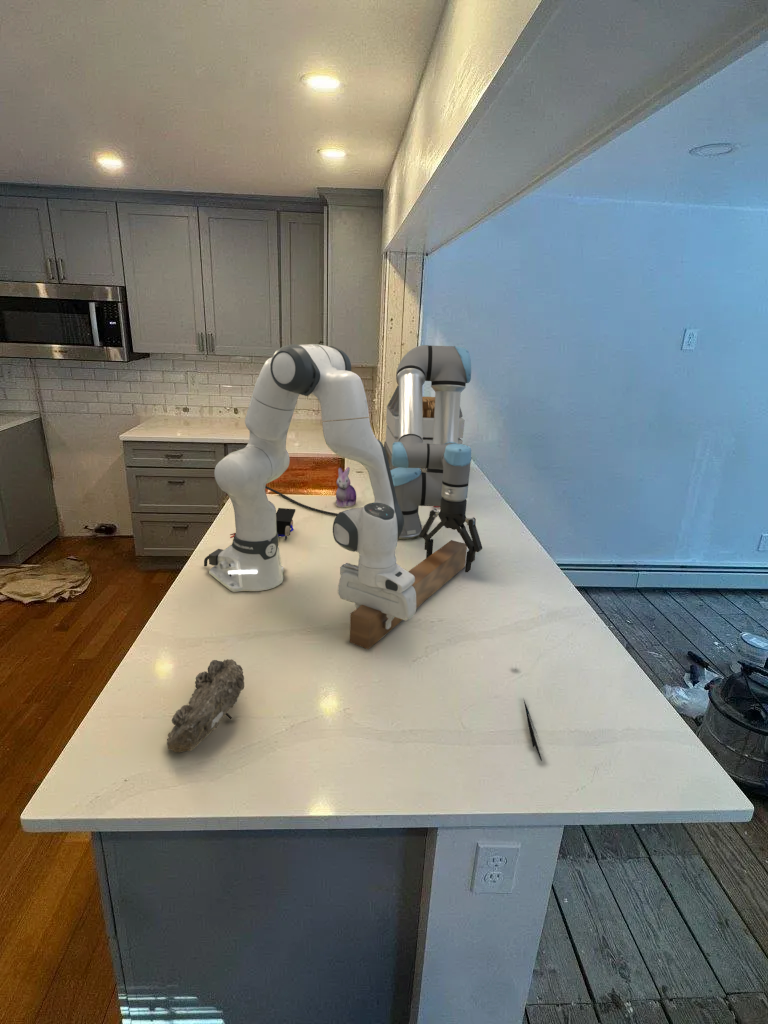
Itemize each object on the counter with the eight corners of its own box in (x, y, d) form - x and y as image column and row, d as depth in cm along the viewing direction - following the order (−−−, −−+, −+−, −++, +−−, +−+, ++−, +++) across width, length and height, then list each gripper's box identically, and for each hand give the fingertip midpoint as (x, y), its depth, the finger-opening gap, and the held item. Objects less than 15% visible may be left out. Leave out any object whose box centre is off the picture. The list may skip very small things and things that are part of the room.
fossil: (192, 660, 117) (244, 628, 112) (224, 691, 120) (276, 661, 115) (142, 746, 98) (202, 712, 93) (182, 779, 101) (242, 748, 96)
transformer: (382, 463, 289) (386, 382, 275) (445, 464, 293) (451, 384, 279) (390, 482, 257) (394, 392, 243) (460, 483, 261) (468, 394, 247)
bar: (449, 562, 179) (451, 539, 176) (464, 566, 176) (467, 543, 174) (349, 642, 134) (350, 613, 132) (368, 649, 132) (369, 620, 129)
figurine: (339, 509, 221) (340, 472, 216) (329, 501, 229) (330, 465, 224) (361, 506, 225) (362, 470, 220) (351, 498, 234) (352, 463, 228)
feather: (515, 674, 127) (521, 668, 126) (541, 765, 100) (548, 758, 100) (509, 670, 127) (514, 664, 126) (533, 761, 100) (540, 753, 99)
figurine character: (291, 546, 188) (296, 525, 202) (290, 526, 185) (296, 506, 198) (270, 546, 188) (277, 525, 201) (269, 526, 185) (276, 506, 198)
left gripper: (333, 565, 135) (332, 616, 140) (408, 588, 125) (404, 642, 130) (348, 556, 140) (347, 606, 145) (421, 578, 131) (417, 630, 135)
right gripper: (410, 493, 167) (406, 559, 174) (488, 510, 155) (481, 580, 162) (422, 487, 173) (418, 551, 180) (498, 503, 161) (490, 571, 169)
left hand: (374, 623), depth 137 cm, fingers closed on bar, 5 cm apart
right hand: (448, 565), depth 171 cm, fingers open, 12 cm apart
